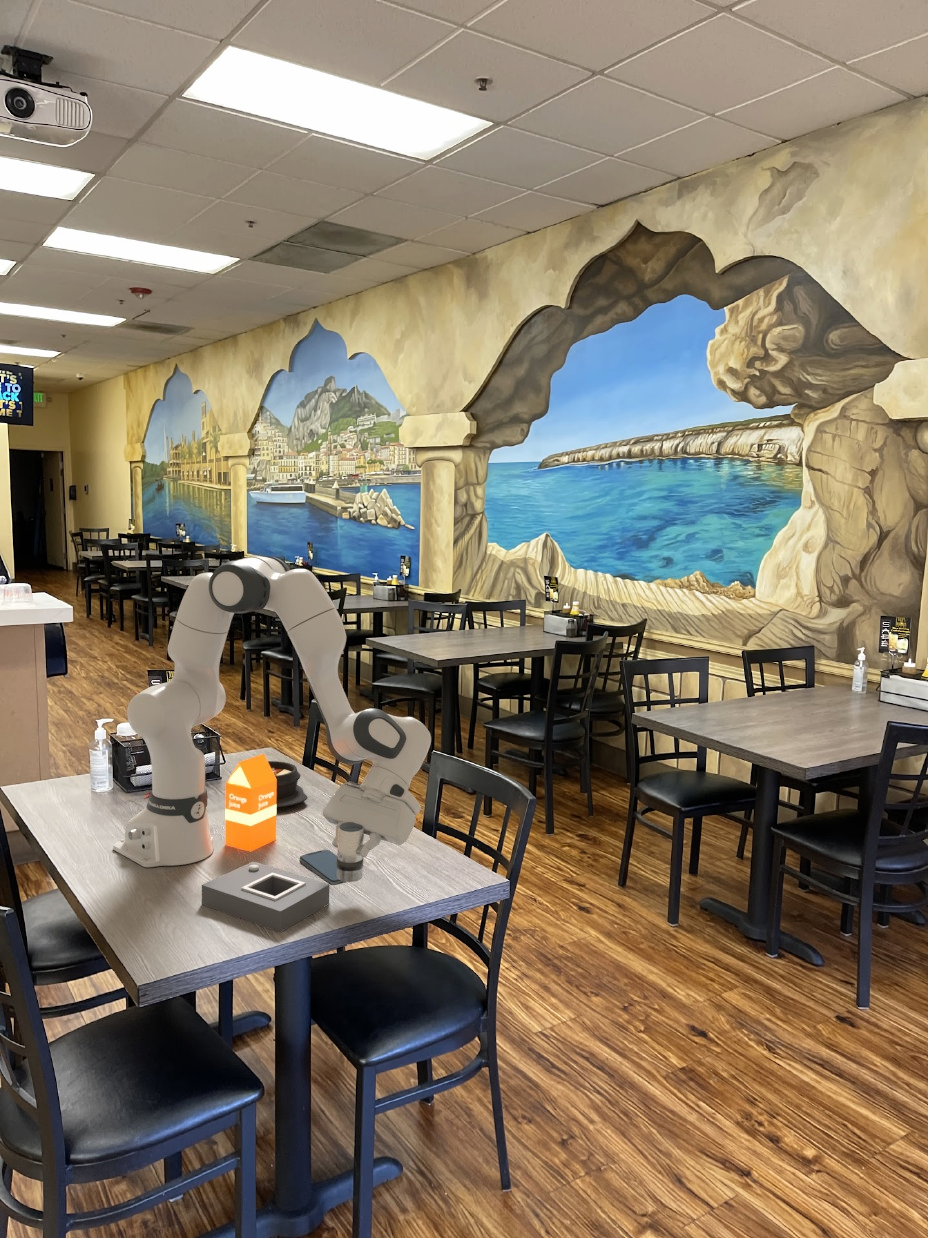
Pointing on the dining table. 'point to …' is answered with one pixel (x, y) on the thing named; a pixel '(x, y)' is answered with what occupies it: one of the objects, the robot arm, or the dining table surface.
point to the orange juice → (251, 805)
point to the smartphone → (322, 865)
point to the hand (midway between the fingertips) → (348, 851)
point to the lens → (349, 852)
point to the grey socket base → (265, 895)
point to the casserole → (287, 784)
